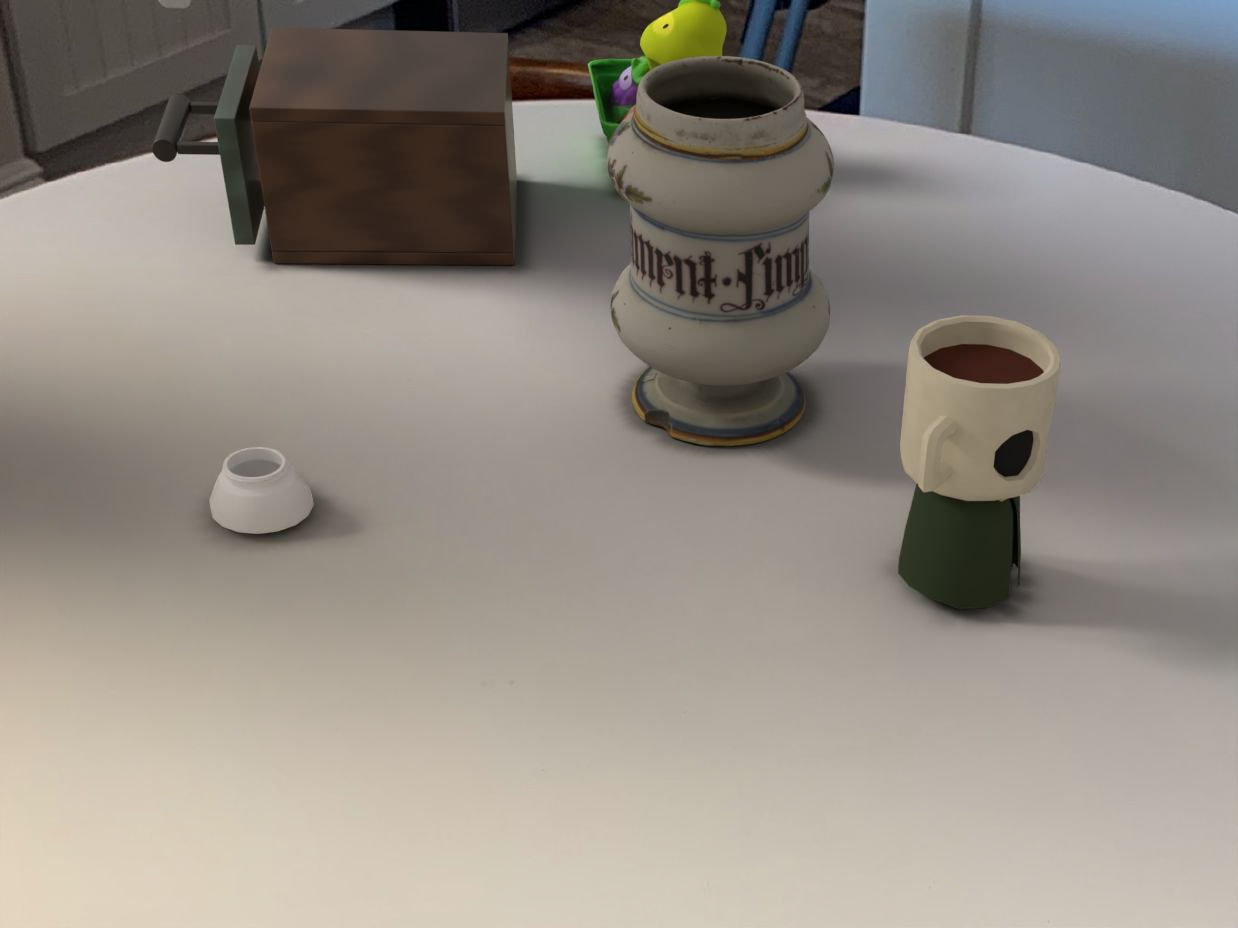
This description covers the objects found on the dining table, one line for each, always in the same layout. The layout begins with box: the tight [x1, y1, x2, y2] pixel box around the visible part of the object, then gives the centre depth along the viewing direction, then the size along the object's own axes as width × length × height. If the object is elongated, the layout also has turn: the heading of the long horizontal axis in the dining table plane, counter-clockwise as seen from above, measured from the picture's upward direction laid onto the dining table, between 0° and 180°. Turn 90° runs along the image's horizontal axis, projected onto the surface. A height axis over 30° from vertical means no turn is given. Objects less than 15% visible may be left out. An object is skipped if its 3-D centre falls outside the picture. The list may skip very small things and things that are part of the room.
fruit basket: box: [587, 0, 728, 145], centre depth 127 cm, size 11×9×11 cm
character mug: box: [897, 314, 1062, 610], centre depth 92 cm, size 11×7×13 cm, turn 151°
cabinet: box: [249, 27, 518, 266], centre depth 119 cm, size 15×13×10 cm
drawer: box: [151, 44, 265, 246], centre depth 118 cm, size 18×11×8 cm, turn 97°
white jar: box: [208, 446, 315, 535], centre depth 96 cm, size 5×3×5 cm
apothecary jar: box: [606, 55, 835, 447], centre depth 102 cm, size 12×12×18 cm
